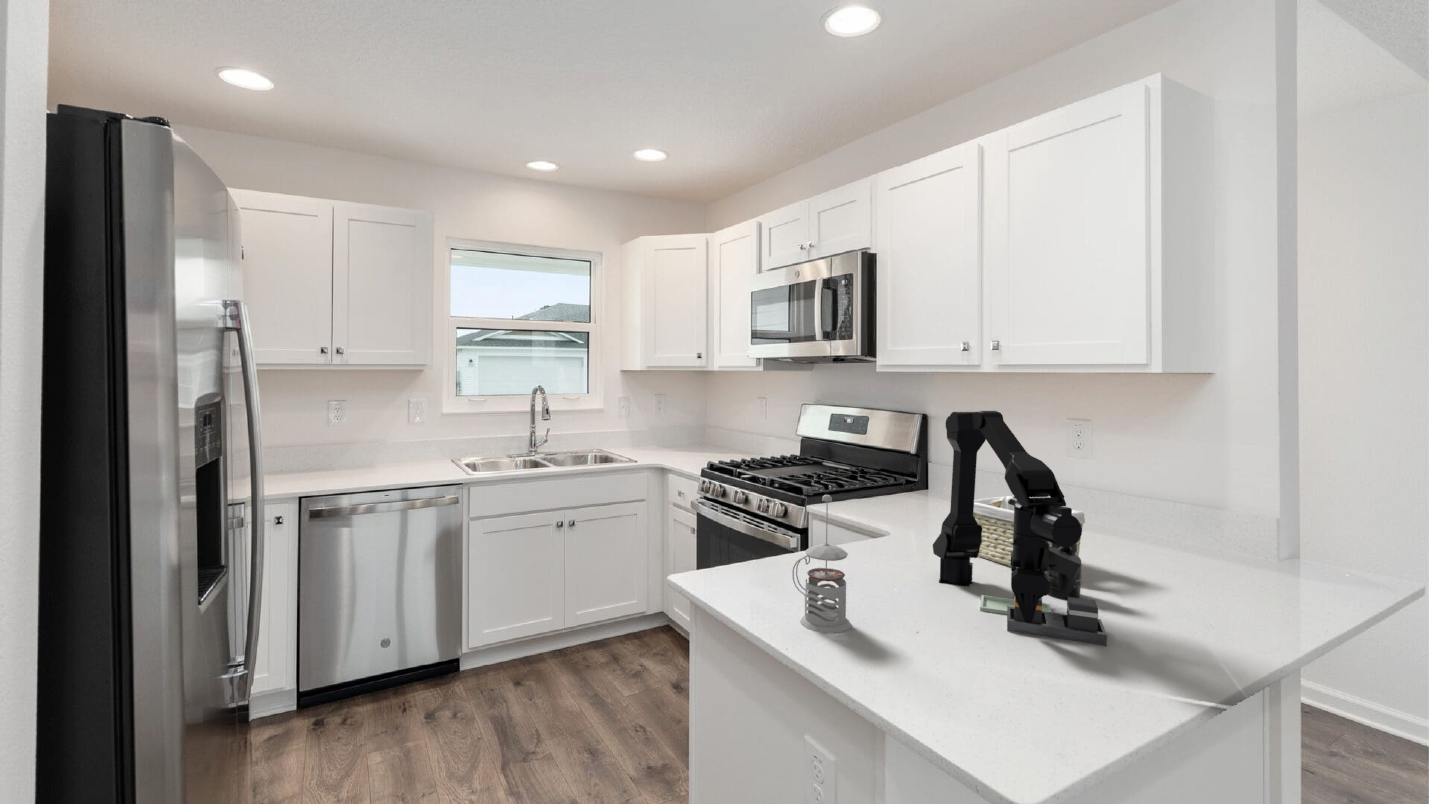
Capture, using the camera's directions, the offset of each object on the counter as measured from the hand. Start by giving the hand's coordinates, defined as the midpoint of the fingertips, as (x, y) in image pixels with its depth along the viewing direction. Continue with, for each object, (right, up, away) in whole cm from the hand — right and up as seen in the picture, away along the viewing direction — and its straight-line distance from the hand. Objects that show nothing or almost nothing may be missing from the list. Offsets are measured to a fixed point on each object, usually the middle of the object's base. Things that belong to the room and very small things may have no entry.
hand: (1027, 614), depth 124 cm
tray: (+2, -2, +9) cm, 10 cm away
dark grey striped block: (0, -2, 0) cm, 2 cm away
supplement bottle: (+16, -2, +18) cm, 24 cm away
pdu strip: (+4, -3, -2) cm, 5 cm away
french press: (-39, -3, +3) cm, 39 cm away
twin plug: (+8, -3, -4) cm, 9 cm away
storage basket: (+20, -1, +44) cm, 48 cm away
